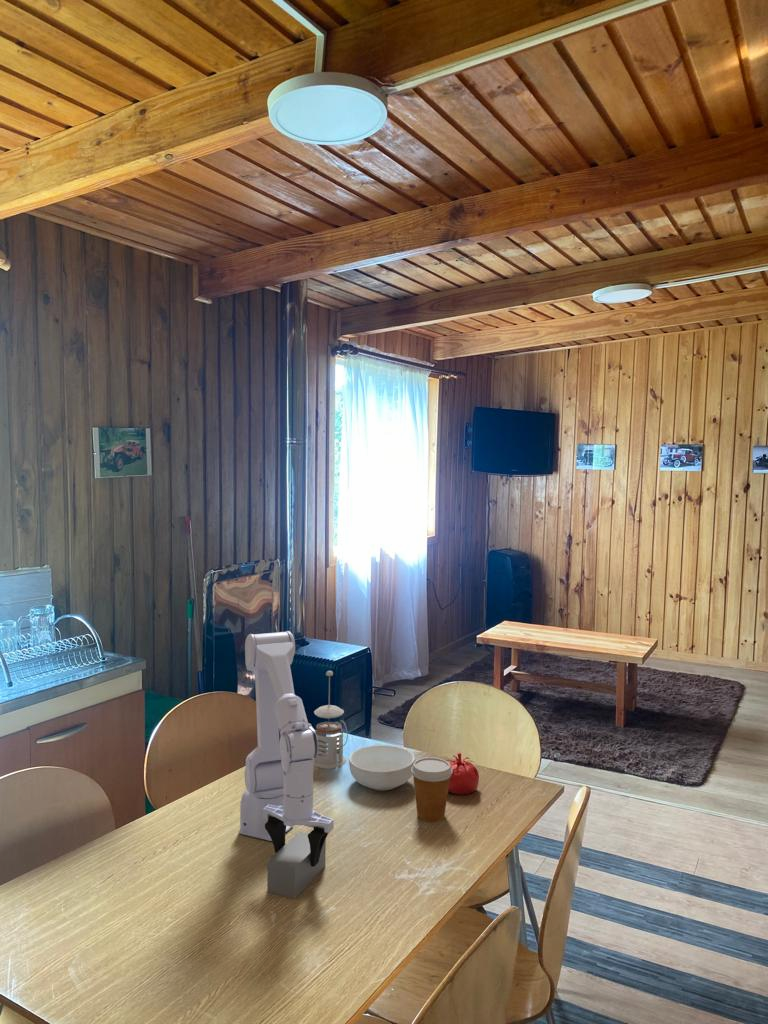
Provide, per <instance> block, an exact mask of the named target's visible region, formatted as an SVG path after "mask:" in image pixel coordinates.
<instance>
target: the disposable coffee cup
mask: <svg viewBox="0 0 768 1024" xmlns="http://www.w3.org/2000/svg"><path fill="white" fill-rule="evenodd" d="M411 772H412V776H413V786H414V796H415V806H416V807H415V808H416V815H417V817H418V818H419V819H420V820H423V821H427V822H438V821H441V820H443V819H444V818H445V815H446V809H447V801H448V793H449V791H448V788H449V781H450V777H451V774H452V769H451V766H450V761H446V759H443V758H441V757H440V758H438V757H433V756H432V757H422V758H418V759H415V762H414V763H413V766H412V768H411Z"/></svg>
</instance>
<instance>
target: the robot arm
mask: <svg viewBox="0 0 768 1024" xmlns="http://www.w3.org/2000/svg"><path fill="white" fill-rule="evenodd" d="M295 653H296V641H295V637H294V635H293V633H292V632H291V631H290V630H286V631H278V632H267V633H255V634H253V633H249V634H248V635H247V636H246V638H245V643H244V655H245V656H244V657H245V660H244V662H245V666H246V670H247V671H250V672H252V673H253V676H254V684H255V686H254V687H255V704H256V705H255V706H256V710H255V711H256V730H257V731H256V733H257V746H256V747H255V748H254V749H253V750H252V751H251V752H250V753H248V755H247V756H246V759H245V766H244V767H245V768H244V784H245V788H246V789H245V790H244V791H243V793H242V795H241V800H240V810H239V811H240V814H239V815H240V816H239V819H240V821H239V822H240V823H239V825H240V827H239V828H240V829H239V830H238V831H237V832H238V834H239V835H243V836H248V837H251V838H257V839H259V840H265V841H269V842H272V844H273V848H274V852H275V853H274V854H276V853H277V852H278V851H279V850H280V849H281V848H282V847H283V846H284V845H286V834H287V832H288V831H290V830H291V829H292V828H293V827H295V826H304V827H310V828H313V829H312V830H311V831H310V832H309V833H308V839H309V843H310V864H311V866H313V867H314V866H315V865H316V864H317V863H318V862H319V858H320V853H321V850H322V847H323V844H324V842H325V839H326V840H327V837H328V835H329V834H330V833H331V831H333V829H334V821H335V820H334V818H332V817H331V818H330V817H328V816H325V815H323V814H321V813H319V812H317V811H315V810H314V807H313V806H314V765H313V758H317V755H318V739H317V735H316V732H315V731H316V730H315V728H314V727H313V726H312V724H311V723H309V721H308V718H307V714H306V711H305V706H304V703H303V699H302V698H301V697H300V696H298V695H296V694H295V689H294V682H293V676H292V669H291V665H292V663H293V660H294V656H295V655H296V654H295Z"/></svg>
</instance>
